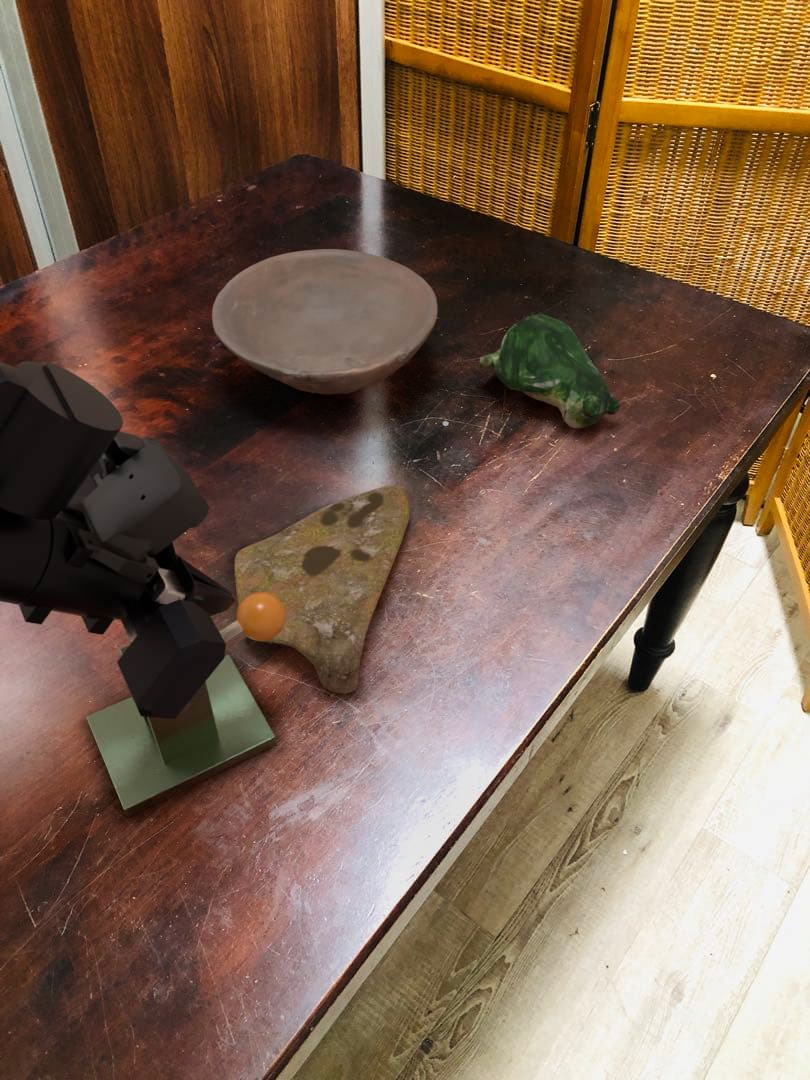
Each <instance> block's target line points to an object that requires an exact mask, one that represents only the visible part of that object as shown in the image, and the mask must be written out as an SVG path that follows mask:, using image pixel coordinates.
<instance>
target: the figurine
mask: <svg viewBox="0 0 810 1080" xmlns="http://www.w3.org/2000/svg"><path fill="white" fill-rule="evenodd" d="M477 363H478V364H477V368H478V369H479V370H481V371H484V370H487V369H491V371H492V372H493V373H495V375H496V378H498V380H499V381H500V382H502V383H503V384H504V386H506V387H507V388H508V389H511V390H515V391H519V392H522V393H523V394H524V395H526V396H528V397H530V398H532V399H534V400H537V401H540V402H544V403H546V404H548V405H551V406H553V407H556V408H558V409H559V411H560V413H561V415H562V419H563V421H564V423H565V424H567V426H568V427H570V428H572V429H582V428H583V429H584V428H587V427H589V426H592V425H594V424H595V423H597V422H598V421H599V420H600V419H601V418H602V417H603V416H605V415H610V416H612V415H615V414H617V413H618V412H619V410H620V408H621V402H620V400H618V399H617V398H616V397H615V396H613V395H612V394H611V392H610V389H609V387H608V384H607V382H606V380H605V378H604V376H603V375H602V373H601V371H600V370H599V369H598V368H597V367H596V366H595V365H594V363H593V362H592V361H591V359H590V358H589V356H588V354H587V353H586V350H585V348H584V346H583V344H582V343H581V341H580V339H579V338H578V336H577V335H576V333H575V332H574V331H573V329H572V328H571V327H570V326H569V325H568V324H566V323H565V322H563V321H561V320H560V319H557V318H554V317H551V316H549V315H546V314H543V313H542V314H541V313H538V314H536V313H535V314H532V315H527V316H526V317H523V318H521V319H520V320H519V321H517V322H516V323H515V324H514V325H512V326H511V327H510V328H509V329H508V330H506V332H505V335H503V337H502V340H501V345H500V348H499V349H497V350H496V351H494V352H491V353H488V354H485V355H483V356H481V357H480V358H478V362H477Z"/></svg>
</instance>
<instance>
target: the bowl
mask: <svg viewBox="0 0 810 1080" xmlns="http://www.w3.org/2000/svg"><path fill="white" fill-rule="evenodd" d="M438 313H439V304H438V300H437V296H436V294H435V291H434V290H433V288H432V287H431V286H430V285H429V283H428V282H427V281H426V280H425V279H424V278H423V277H421V276H420V275H419V274H417V273H416V272H415V271H413V270H412V269H410V268H408V267H407V266H405V265H403V264H400V263H399V262H396V261H393V260H391V259H389V258H387V257H383V256H379V255H375V254H372V253H368V252H362V251H356V250H348V249H338V248H323V249H322V248H320V249H307V250H298V251H292V252H286V253H283V254H279V255H275V256H271V257H268V258H266V259H263V260H261V261H259V262H255V263H254V264H252V265H250V266H248V267H247V268H245V269H243V270H242V271H240V272H239V273H237V274H236V275H235V276H234V277H232V278H231V279H230V280H229V281H228V282H227V284H225V286H224V287H223V288H221V290H220V291H219V292H218V294H217V295H216V297H215V300H214V303H213V305H212V310H211V320H212V321H211V322H212V327H213V330H214V331H213V332H214V334H215V335H216V337H217V338H218V339H219V341H220V342H221V343H222V344H223V345H224V346H225V347H226V348H227V349H228V350H229V351H230V352H231V353H232V354H233V355H234V356H236V358H238V359H239V360H241V361H242V362H244V363H246V364H247V366H250V367H251V368H253V369H255V370H257V371H258V372H260V373H262V374H264V375H267V376H268V377H270V378H272V379H274V380H276V381H279V382H280V383H281V384H285V385H287V386H289V387H292V388H293V389H295V390H298V391H301V392H307V393H311V394H319V395H337V394H339V395H340V394H347V395H348V394H350V393H353V392H358V391H360V390H362V389H366V388H370V387H373V386H376V385H378V384H380V383H381V382H382V381H384V380H385V379H386V378H388V377H389V376H390V375H392V374H393V373H394V372H395V371H397V370H399V369H400V368H402V367H403V366H404V365H405V364H407V363H408V362H409V361H410V360H411V359H412V358H413V357H414V356H415V355H416V353H417V352H418V351H420V349H421V348H422V347H423V344H424V343H425V342H427V339H428V338H429V336H430V334H431V333H432V332H433V330H434V327H435V326H436V322H437V319H438V315H439V314H438Z"/></svg>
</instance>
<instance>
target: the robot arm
mask: <svg viewBox="0 0 810 1080" xmlns="http://www.w3.org/2000/svg"><path fill="white" fill-rule="evenodd" d="M123 425H124V420H123V416H122V415H121V413H120V411H119V410H118V408H117V407H116V406H115V405H114V403H113V402H112V401H111V400H110V399H109V398H107V396H106V395H104V394H103V393H102V392H101V391H100V390H99V389H97V388H96V387H95V386H94V385H92V384H91V383H89V382H88V381H86V380H85V379H83V378H82V377H80V376H78V375H77V374H75V373H73V372H72V371H69V370H68V369H66V368H63V367H62V366H59V365H57V364H55V363H53V362H49V361H46V362H45V363H40V362H36V361H27V360H26V361H21V362H19V363H18V364H17V366H16V367H15V366H13V365H9V364H8V363H5V362H2V361H0V602H2V603H7V604H13V605H18V607H19V609H20V611H21V614H22V617H23V620H24V622H25V623H29V624H36V625H41V626H42V625H43V623H44V622H45V621H46V619H47V618H48V616H49V615H50V614H51V612H57V613H62V614H67V615H73V616H78V617H81V619H82V621H83V623H84V625H85V628H86V630H87V633H89V634H95V635H102V636H103V635H104V634H105V633H106V631H107V630H108V629H109V627H110V626H111V625H112V623H113V622H114V621H115V620H118V621H120V622H121V625H122V627H123V629H124V631H125V633H126V635H127V637H128V639H129V642H130V644H128V646H129V647H128V648H127V649H126V651H125V652H124V653H123V654H122V656H121V655H120V657H119V658H118V660H116V664H117V666H118V668H119V671H120V673H121V676H122V679H123V681H124V683H125V685H126V687H127V689H128V691H129V694H130V697H132V698H133V700H134V703H135V705H136V707H137V709H138V711H139V714H140V716H143V717H154V718H166V719H176V717H177V716H178V715H179V714H180V712H181V711H182V710H183V709H184V707H185V706H186V705H187V704H188V702H189V701H190V700H191V699H192V698H193V696H194V695H195V694H196V693H197V691H198V690H199V689H200V688H201V686H202V685H203V684H204V683H205V681H206V680H207V679H208V678H209V676H210V675H211V674H212V673H213V672H214V670H215V669H216V668H217V667H218V665H219V664H220V663H221V662H222V660H223V659H224V657H225V656H226V650H225V649H226V643H225V641H224V640H223V638H222V636H221V634H220V632H219V631H220V630H219V629H218V627H217V626H216V623H215V622H214V620H213V619H212V617H213V616H215V615H218V614H220V613H223V612H226V611H229V609H230V608H231V607H232V606H233V604H235V602H236V598H235V596H234V595H233V593H232V592H231V590H229V589H227V587H224V586H223V585H222V584H220V583H219V582H217V581H216V580H214V579H213V578H211V577H210V576H208V575H207V574H206V573H204V572H203V571H201V570H199V568H196V567H195V566H194V565H192V564H191V563H189V562H188V561H186V560H185V559H184V558H182V556H180V555H179V554H177V553H176V550H175V549H176V548H175V546H174V541H176V540H178V538H179V537H181V536H182V535H183V534H185V533H186V532H187V531H189V530H190V529H192V528H196V527H198V526H199V525H200V524H201V523H203V521H204V520H205V519H206V517H207V516H208V513H209V509H210V507H209V504H208V503H209V502H207V500H206V499H205V497H204V496H203V495H202V493H201V492H200V490H199V488H198V486H197V485H196V484H195V482H194V481H193V479H192V478H193V477H192V476H191V475H190V474H189V472H187V470H185V469H184V468H183V466H182V465H181V464H180V463H179V462H177V460H176V459H174V458H173V457H172V456H171V455H170V454H169V453H168V452H167V450H166V449H165V447H164V446H163V444H162V443H161V441H160V440H159V439H156V438H155V439H153V438H152V439H150V438H149V437H148V435H146V436H144V437H143V438H141V437H140V436H138V435H136V434H132V433H127V432H124V431H121V429H122V428H123V427H124V426H123Z"/></svg>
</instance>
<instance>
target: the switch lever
mask: <svg viewBox="0 0 810 1080" xmlns="http://www.w3.org/2000/svg"><path fill="white" fill-rule="evenodd" d="M285 621H286V611H285V608H284V605H283V603H282V602H281V601H280V600H279V599H278V598H277V597H276V596H275V595H273V594H271V593H267V592H256V593H253V594H250V595H249V596H247V597H246V598H245V599H244V600H243V601H242V602H241V603H240V605H239V606H238V607H237V610H236V619H235V621H233V622H232V623H230V624H228V625H227V626H225V627H223V628H222V629H220V630H218V631H219V632H220V634H221V636H222V638H223V640H224V641H225V643H226V649H225V651H227V650H228V649H230V648H232V647H233V646H235V645H237V644H239V643H241V641H243V640H245V639H246V638H248V639H250V640H253V641H255V642H256V641H257V642H261V641H266V640H270V639H272V638H274V637H275V636H277V635H278V634H279V633H280V632H281V630H282V629H283V627H284V625H285Z"/></svg>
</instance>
